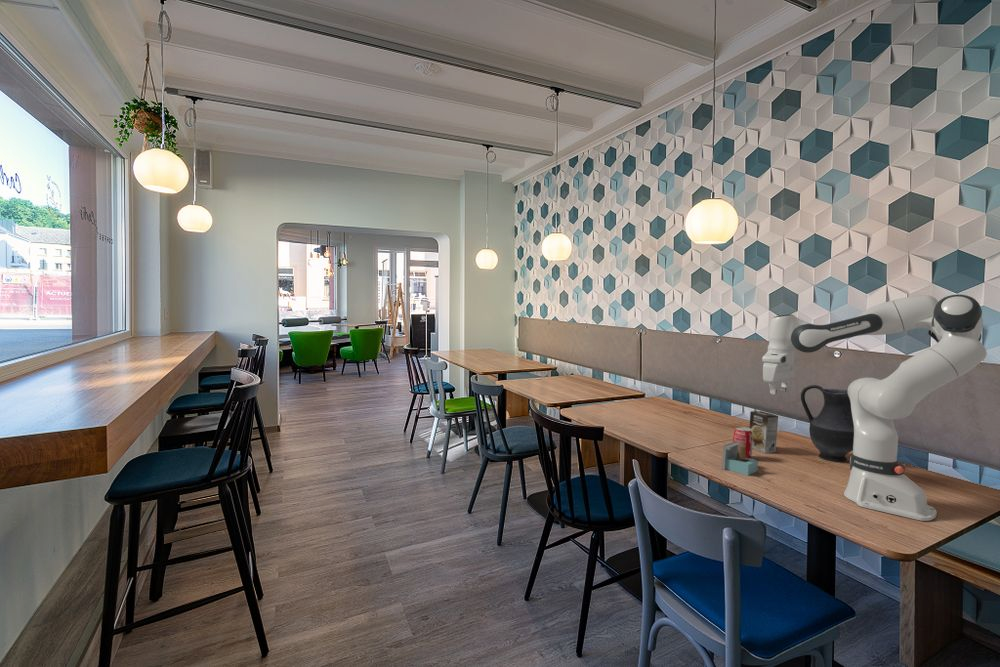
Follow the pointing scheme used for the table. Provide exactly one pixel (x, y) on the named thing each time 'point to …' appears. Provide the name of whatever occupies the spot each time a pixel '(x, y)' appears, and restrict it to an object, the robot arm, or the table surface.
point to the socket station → (732, 462)
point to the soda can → (744, 439)
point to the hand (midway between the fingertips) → (778, 392)
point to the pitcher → (832, 424)
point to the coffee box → (764, 431)
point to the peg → (741, 452)
